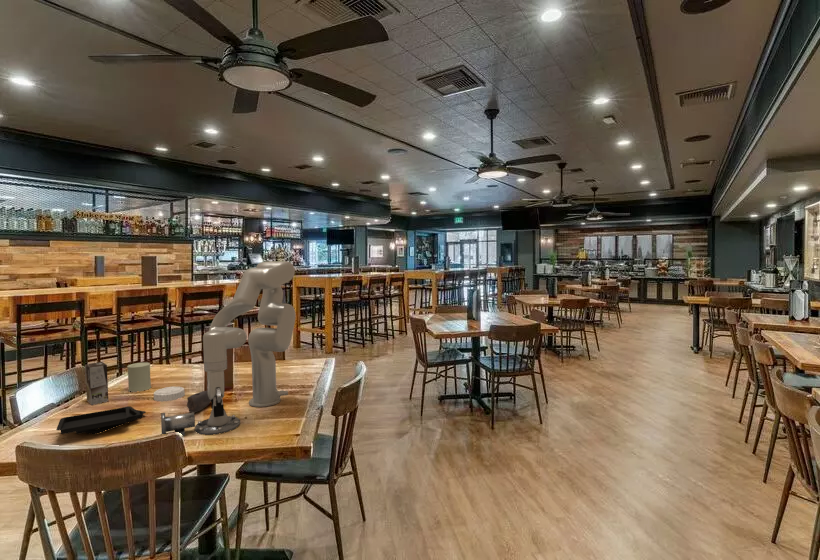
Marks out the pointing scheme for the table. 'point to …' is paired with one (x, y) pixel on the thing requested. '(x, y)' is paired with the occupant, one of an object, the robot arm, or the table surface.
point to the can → (139, 377)
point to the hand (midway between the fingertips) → (217, 412)
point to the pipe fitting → (188, 421)
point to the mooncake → (169, 393)
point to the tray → (98, 420)
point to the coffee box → (96, 382)
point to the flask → (217, 419)
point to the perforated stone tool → (198, 401)
